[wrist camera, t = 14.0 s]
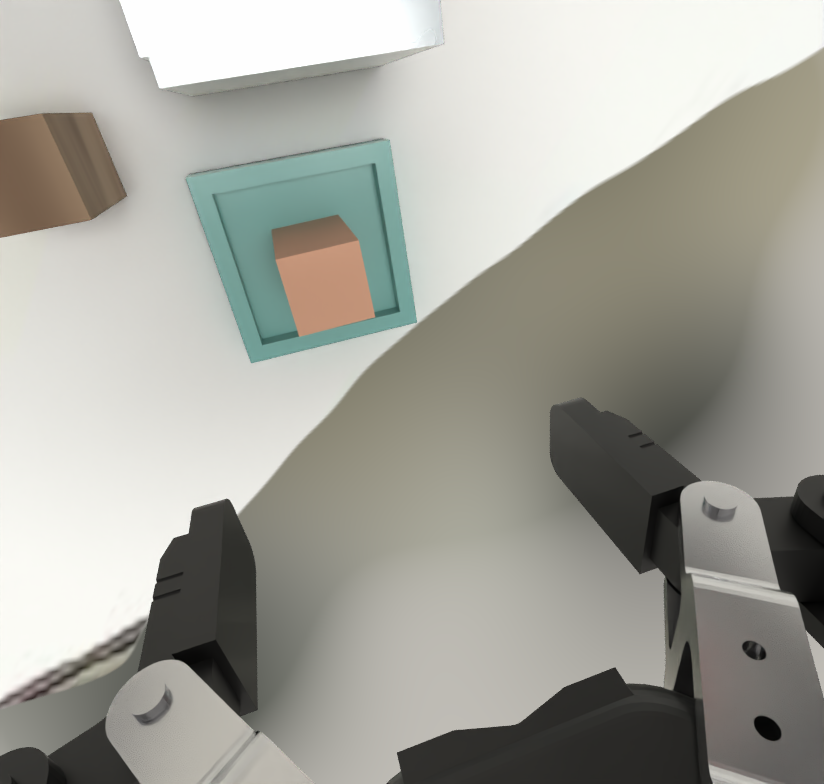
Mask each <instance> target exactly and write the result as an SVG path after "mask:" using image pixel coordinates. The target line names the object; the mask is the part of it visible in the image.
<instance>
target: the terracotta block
mask: <svg viewBox="0 0 824 784" xmlns="http://www.w3.org/2000/svg"><path fill="white" fill-rule="evenodd" d="M271 231H272V238H273V245H274V253H275V260H276V263H277V266H278V270H279V273H280V276H281V279H282V282H283V286H284V289H285V292H286V295H287V299H288V302H289V305H290V308H291V312H292V315H293V318H294V321H295V324H296V328H297V331H298V334H299V337H301V336H305V335H309V334H312V333H316V332H320V331H324V330H328V329H332V328H336V327H339V326H343V325H347V324H351V323H355V322H359V321H362V320H366V319H370V318H374V317H375V313H374V309H373V304H372V299H371V295H370V290H369V285H368V281H367V276H366V272H365V267H364V262H363V258H362V253H361V248H360V244H359V240H358V239H357V237H356V236H355V235H354V234H353V232H352V231H351V230H350V229H349V227H348V226H347V225H346V224H345V222H344V221H343V220H342V219H341V217H340V216H339V215H334V216H329V217H325V218H320V219H316V220H311V221H307V222H303V223H298V224H294V225H289V226H285V227H281V228H276V229H272V230H271Z"/></svg>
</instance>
